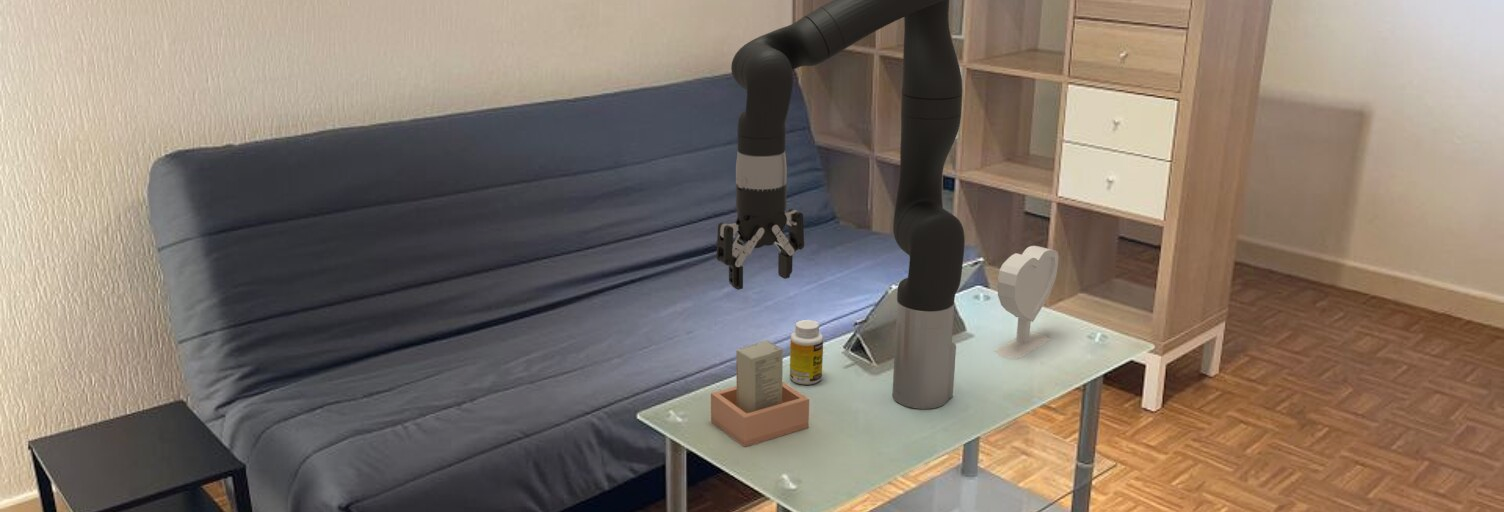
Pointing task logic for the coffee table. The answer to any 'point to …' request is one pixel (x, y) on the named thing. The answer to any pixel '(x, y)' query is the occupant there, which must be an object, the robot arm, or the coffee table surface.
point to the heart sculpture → (1026, 295)
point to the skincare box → (759, 376)
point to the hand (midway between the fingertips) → (760, 282)
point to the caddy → (759, 416)
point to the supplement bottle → (806, 353)
